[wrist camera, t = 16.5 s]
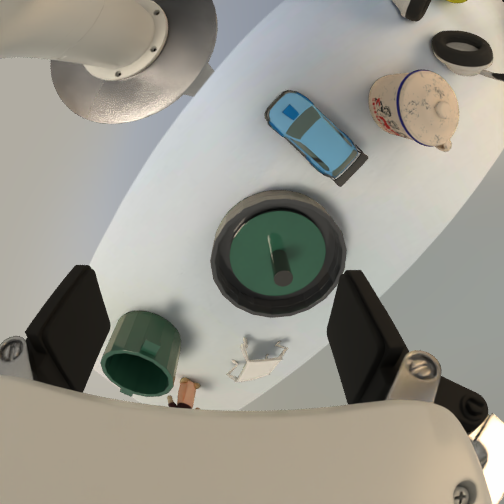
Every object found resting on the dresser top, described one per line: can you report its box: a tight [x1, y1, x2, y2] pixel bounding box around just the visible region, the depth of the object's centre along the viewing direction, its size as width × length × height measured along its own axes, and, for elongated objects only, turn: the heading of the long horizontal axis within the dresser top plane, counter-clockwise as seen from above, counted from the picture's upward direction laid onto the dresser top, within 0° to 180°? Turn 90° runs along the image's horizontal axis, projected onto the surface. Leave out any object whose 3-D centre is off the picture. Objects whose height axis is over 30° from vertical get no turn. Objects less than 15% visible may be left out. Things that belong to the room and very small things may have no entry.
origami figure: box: [226, 337, 288, 382], centre depth 49 cm, size 12×8×5 cm
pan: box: [210, 190, 346, 318], centre depth 40 cm, size 18×18×4 cm
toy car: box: [265, 90, 368, 187], centre depth 31 cm, size 6×12×6 cm, turn 49°
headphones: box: [393, 0, 504, 81], centre depth 16 cm, size 19×8×20 cm, turn 50°
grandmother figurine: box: [167, 378, 200, 409], centre depth 51 cm, size 8×4×13 cm, turn 59°
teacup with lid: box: [369, 70, 459, 152], centre depth 27 cm, size 12×9×12 cm
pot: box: [101, 311, 181, 397], centre depth 45 cm, size 13×18×10 cm
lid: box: [230, 210, 326, 296], centre depth 38 cm, size 14×14×7 cm
